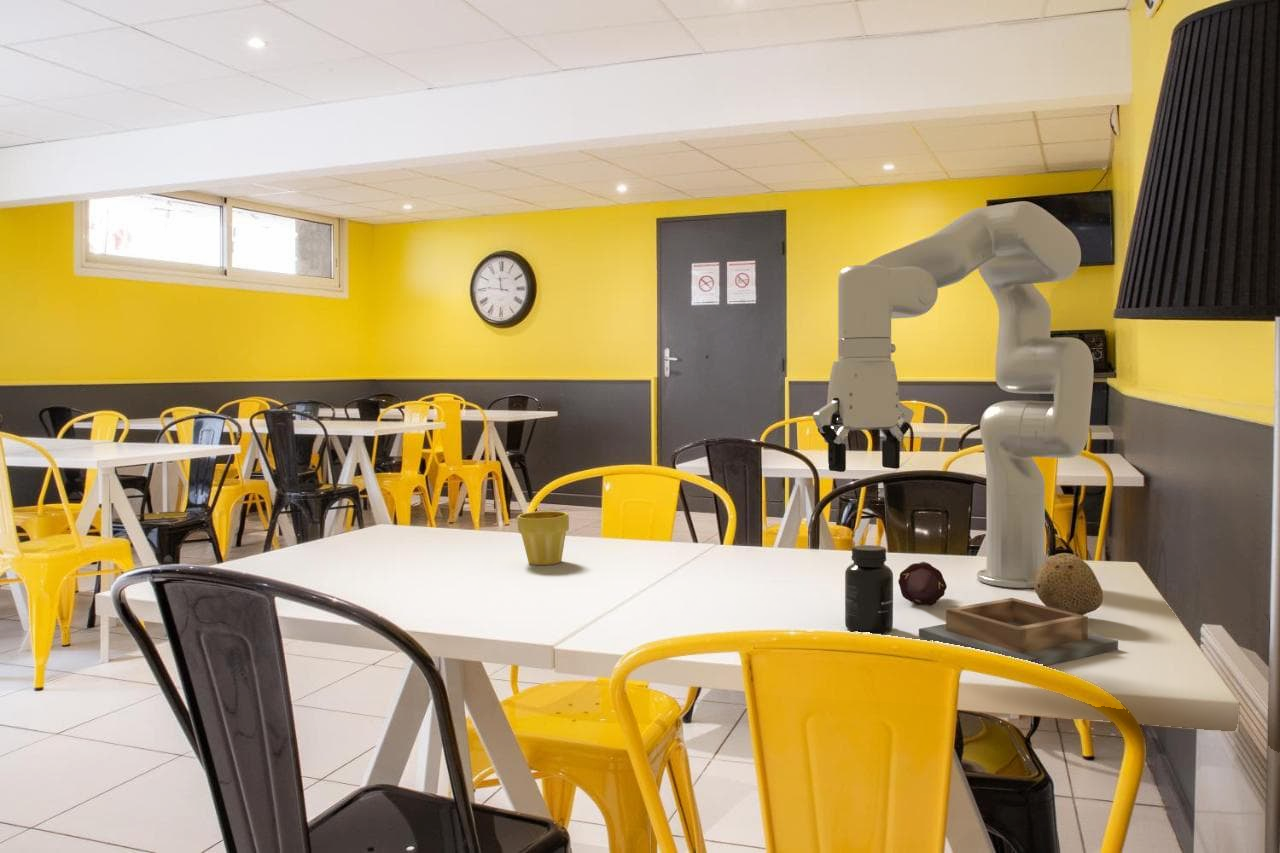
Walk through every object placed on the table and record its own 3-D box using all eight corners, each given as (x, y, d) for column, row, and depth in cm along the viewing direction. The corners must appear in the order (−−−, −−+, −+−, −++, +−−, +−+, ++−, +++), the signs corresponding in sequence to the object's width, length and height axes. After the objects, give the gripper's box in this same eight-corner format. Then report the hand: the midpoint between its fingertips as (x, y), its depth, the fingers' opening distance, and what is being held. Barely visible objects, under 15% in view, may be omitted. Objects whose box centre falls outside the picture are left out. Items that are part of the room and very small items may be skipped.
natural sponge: (1022, 613, 149) (1022, 548, 149) (1077, 610, 150) (1078, 546, 150) (1052, 628, 140) (1052, 560, 140) (1111, 626, 141) (1112, 557, 141)
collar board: (1010, 619, 146) (1010, 592, 145) (1117, 649, 130) (1118, 618, 129) (918, 637, 138) (918, 607, 137) (1021, 671, 122) (1021, 637, 121)
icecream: (954, 575, 148) (948, 564, 163) (905, 561, 150) (903, 551, 164) (942, 619, 148) (937, 604, 163) (893, 605, 150) (893, 591, 165)
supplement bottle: (894, 636, 138) (894, 552, 138) (845, 634, 140) (844, 551, 139) (892, 623, 145) (891, 543, 144) (845, 622, 146) (844, 543, 146)
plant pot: (509, 566, 194) (507, 517, 194) (533, 556, 204) (531, 509, 203) (556, 568, 191) (554, 519, 190) (578, 558, 200) (577, 511, 200)
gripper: (894, 352, 148) (894, 464, 149) (799, 352, 141) (800, 470, 142) (928, 351, 142) (928, 468, 143) (831, 350, 134) (831, 474, 135)
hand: (864, 469), depth 142 cm, fingers open, 9 cm apart
